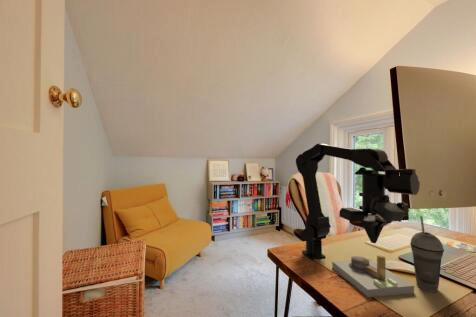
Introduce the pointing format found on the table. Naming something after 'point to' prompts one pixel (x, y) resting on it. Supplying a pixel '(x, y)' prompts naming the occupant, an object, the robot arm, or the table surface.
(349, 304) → the table surface
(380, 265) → the cam lever
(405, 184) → the robot arm
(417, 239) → the beverage cup
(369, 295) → the stand base
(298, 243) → the table surface
